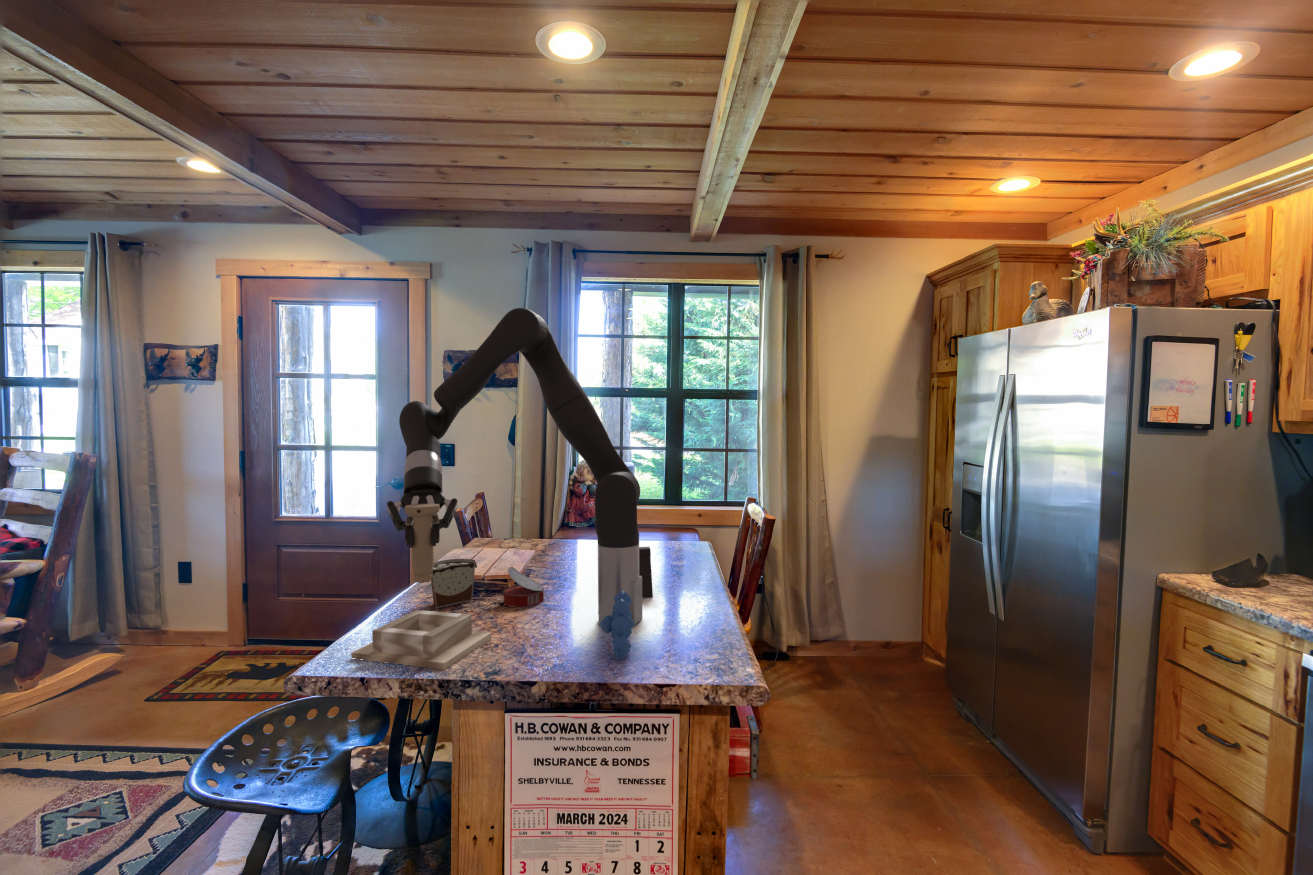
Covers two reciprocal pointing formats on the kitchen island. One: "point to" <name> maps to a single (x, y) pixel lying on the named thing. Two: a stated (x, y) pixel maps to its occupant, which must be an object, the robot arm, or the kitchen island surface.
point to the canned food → (523, 591)
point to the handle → (422, 540)
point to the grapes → (619, 624)
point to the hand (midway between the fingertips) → (422, 544)
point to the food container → (452, 581)
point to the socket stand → (424, 640)
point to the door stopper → (645, 571)
